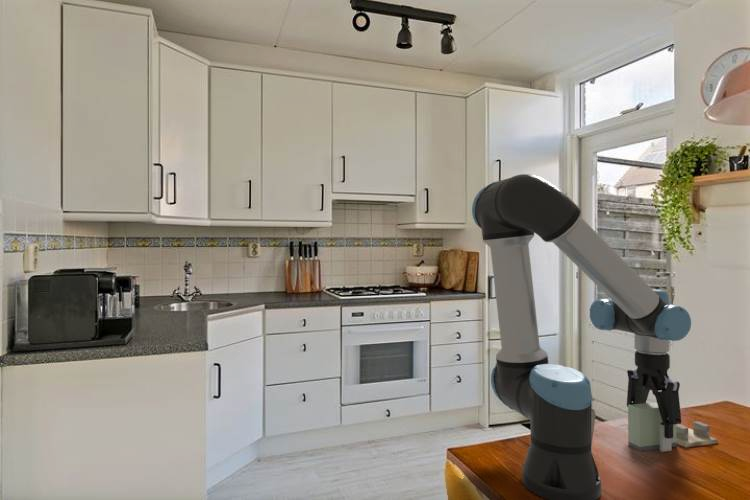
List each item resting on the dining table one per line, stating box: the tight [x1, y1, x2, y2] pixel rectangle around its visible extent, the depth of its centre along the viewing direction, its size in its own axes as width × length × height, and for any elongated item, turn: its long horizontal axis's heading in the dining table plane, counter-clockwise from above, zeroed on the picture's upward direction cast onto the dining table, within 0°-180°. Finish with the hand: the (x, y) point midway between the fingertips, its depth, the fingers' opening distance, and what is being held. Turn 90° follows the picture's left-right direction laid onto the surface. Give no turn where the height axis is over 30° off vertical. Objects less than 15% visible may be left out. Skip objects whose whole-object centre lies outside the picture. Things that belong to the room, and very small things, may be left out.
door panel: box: [627, 401, 678, 452], centre depth 118 cm, size 4×11×10 cm, turn 105°
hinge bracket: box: [676, 420, 719, 448], centre depth 126 cm, size 10×16×4 cm, turn 15°
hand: (652, 444), depth 118 cm, fingers open, 7 cm apart
